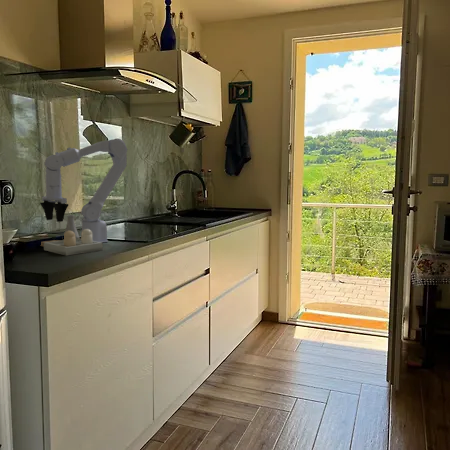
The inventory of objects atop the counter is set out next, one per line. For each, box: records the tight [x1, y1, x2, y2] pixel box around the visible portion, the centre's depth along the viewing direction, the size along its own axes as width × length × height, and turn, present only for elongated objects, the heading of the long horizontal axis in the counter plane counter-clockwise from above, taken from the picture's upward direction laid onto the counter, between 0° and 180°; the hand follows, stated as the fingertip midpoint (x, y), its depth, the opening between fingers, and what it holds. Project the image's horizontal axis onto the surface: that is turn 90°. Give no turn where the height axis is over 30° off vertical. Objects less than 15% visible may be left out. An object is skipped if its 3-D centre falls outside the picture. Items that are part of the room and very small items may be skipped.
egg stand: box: [40, 239, 60, 248], centre depth 176 cm, size 7×7×2 cm
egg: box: [63, 231, 76, 247], centre depth 163 cm, size 4×4×7 cm
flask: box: [63, 214, 81, 239], centre depth 195 cm, size 7×7×10 cm
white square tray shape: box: [43, 229, 104, 257], centre depth 168 cm, size 15×15×8 cm
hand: (54, 220), depth 179 cm, fingers open, 7 cm apart
